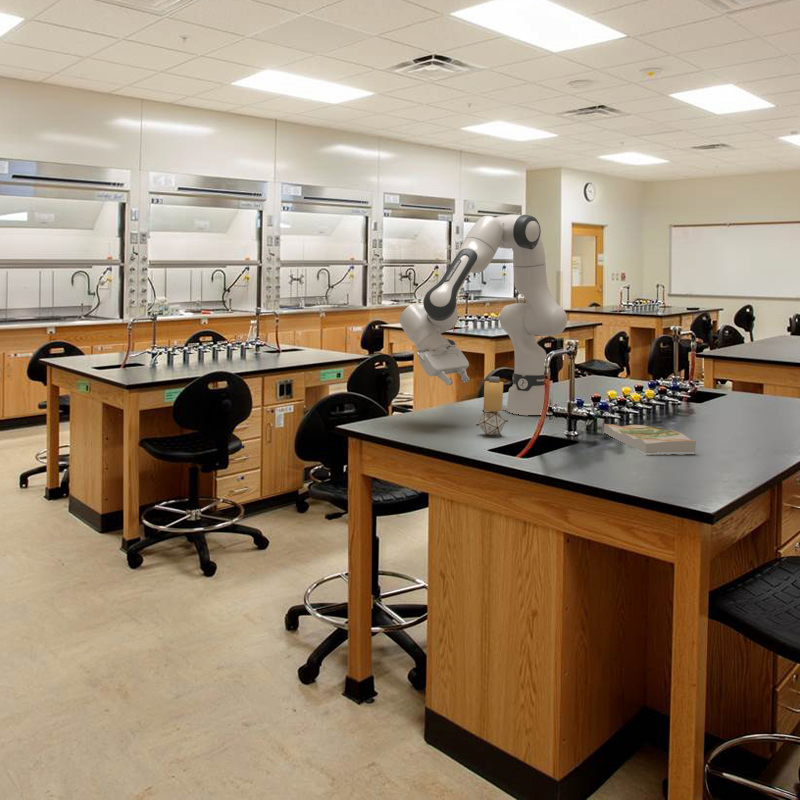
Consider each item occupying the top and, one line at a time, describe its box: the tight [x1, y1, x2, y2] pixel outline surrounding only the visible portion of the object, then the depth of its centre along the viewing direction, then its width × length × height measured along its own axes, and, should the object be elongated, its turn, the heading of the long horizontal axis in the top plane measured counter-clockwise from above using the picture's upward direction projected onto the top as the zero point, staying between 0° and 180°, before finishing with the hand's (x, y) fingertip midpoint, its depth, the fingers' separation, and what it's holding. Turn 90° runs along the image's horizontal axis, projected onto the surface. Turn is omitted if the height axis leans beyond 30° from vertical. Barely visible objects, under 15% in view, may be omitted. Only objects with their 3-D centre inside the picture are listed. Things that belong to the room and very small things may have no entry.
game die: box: [475, 409, 509, 438], centre depth 238 cm, size 9×8×10 cm
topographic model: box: [603, 423, 697, 453], centre depth 232 cm, size 30×14×5 cm, turn 8°
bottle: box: [482, 376, 504, 413], centre depth 237 cm, size 6×6×10 cm
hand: (458, 382), depth 244 cm, fingers open, 8 cm apart
